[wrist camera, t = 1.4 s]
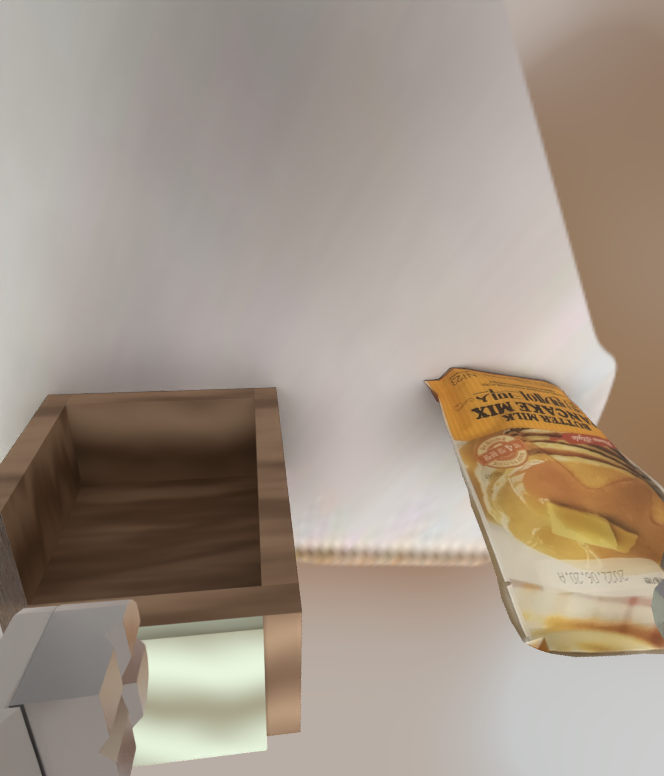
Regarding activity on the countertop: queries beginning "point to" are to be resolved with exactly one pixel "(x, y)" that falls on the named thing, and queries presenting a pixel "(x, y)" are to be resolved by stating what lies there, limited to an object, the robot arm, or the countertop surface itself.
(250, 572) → the brown wooden box
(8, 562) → the grey metal bar
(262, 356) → the countertop surface
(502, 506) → the pancake mix bag
